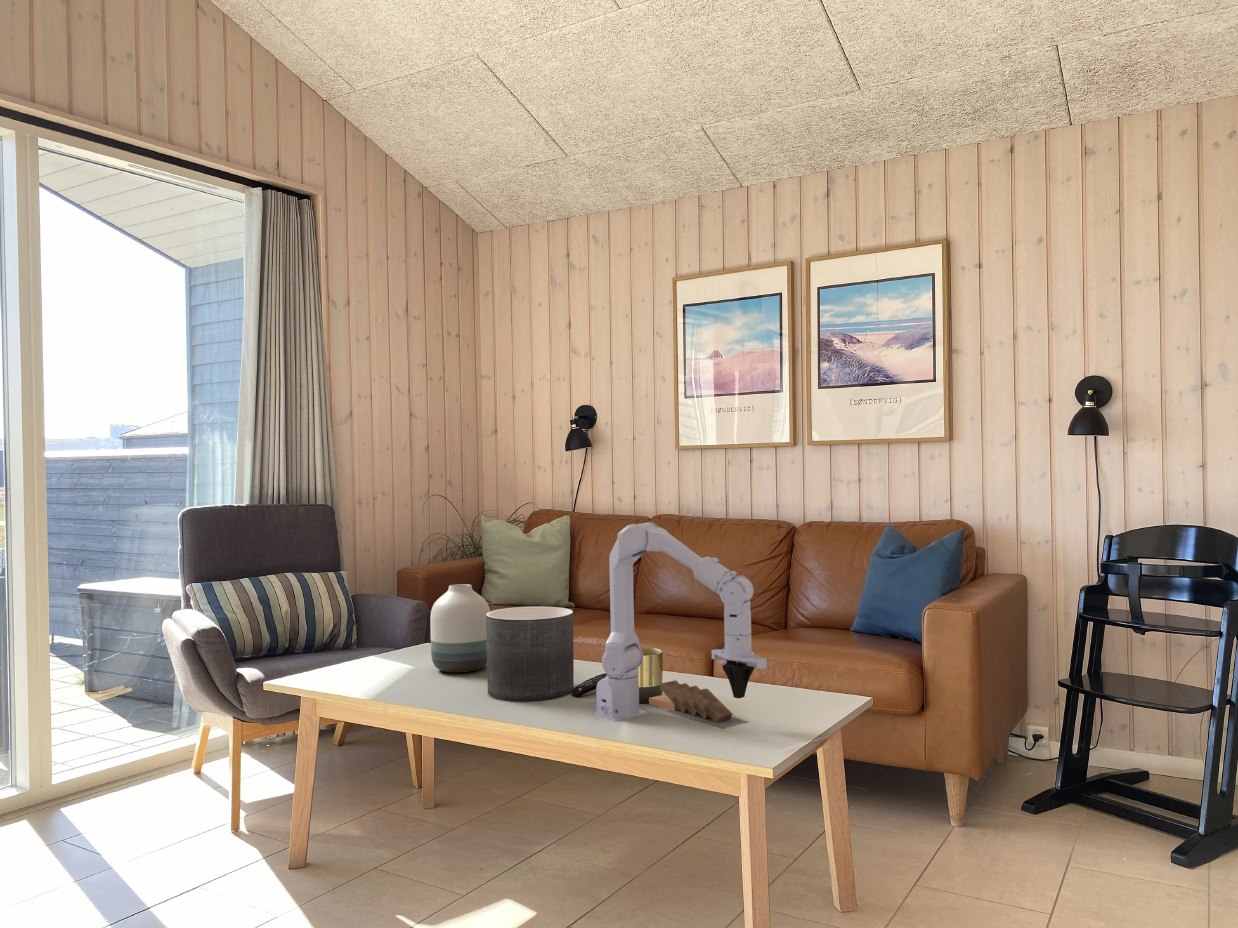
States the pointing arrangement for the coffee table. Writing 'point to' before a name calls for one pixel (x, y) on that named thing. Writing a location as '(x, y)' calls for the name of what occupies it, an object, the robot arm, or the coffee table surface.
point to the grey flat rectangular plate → (699, 718)
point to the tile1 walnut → (711, 705)
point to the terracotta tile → (663, 702)
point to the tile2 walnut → (687, 694)
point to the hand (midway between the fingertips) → (739, 697)
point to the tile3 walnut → (676, 692)
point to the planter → (530, 653)
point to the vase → (459, 630)
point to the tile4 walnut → (666, 689)
